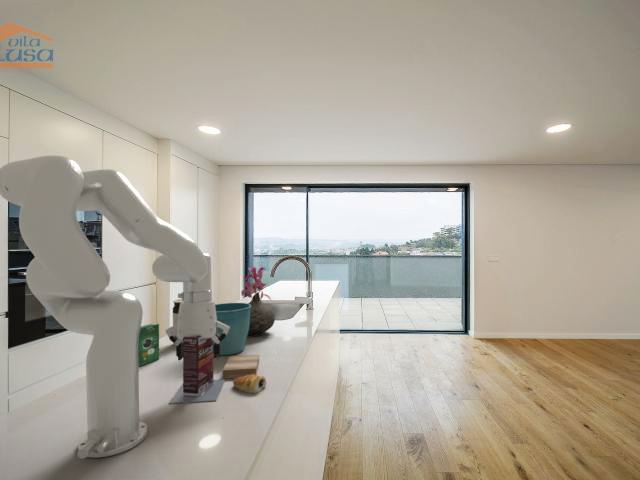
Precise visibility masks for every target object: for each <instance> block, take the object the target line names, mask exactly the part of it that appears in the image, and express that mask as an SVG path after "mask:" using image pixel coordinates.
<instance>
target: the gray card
mask: <svg viewBox="0 0 640 480" xmlns="http://www.w3.org/2000/svg"><path fill="white" fill-rule="evenodd" d="M225 382H226V378H222V379H221V378H220V379H213V385H212V386H211V387H209V388H208V389H207V390H205V391H204V392H203V393H202V394H200V395H199V396H198V397H194V396H184V395H183V383H182V384H181V386H180V387H179V388H178V390H177V391H176V392H175V394H174V395H173V396H172V398H171V399H170V401H169V402H168V404H169V405H174V404H191V403H192V404H193V403H207V402H208V403H209V402H217V401H218V398H219V397H220V396H219V395H220V393H221V391H222V389H223V387H224V384H225Z"/></svg>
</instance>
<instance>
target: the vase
mask: <svg viewBox="0 0 640 480" xmlns="http://www.w3.org/2000/svg"><path fill="white" fill-rule="evenodd" d="M263 270H264V271H265V270H266V268H265V266H261V267H260V268H259V269H258V271H257V268H256V267H255V266H253V267H252V268H250V267H248V271H250V272H251V273H248V274H247V275H246V277H245V280H244V286H245V287H246V288H247V289H243V290H241V291H240V292H241V296H242V297H243V296H244V295H246V294H247V297H248V298H251V300H250V302H248V303H247V304H250V305H251V308H250V324H249V330H248V334H247V335H248V336H251V335H258V336H262V335H264V334H265V333H266V332H267V331H269V330H270V329H272V327H273V326H274V324H275V320H276V318H275V317H276V314H275V311H274V309H273V308H272V307H271V306H270V305H269V304H267V303H265V302H263V301H262V299H263V297H264V296H265V297H267V298H268V299H269V300H270V301H272V302H273V300H272V298H271V297H270V295H267V294H264V292H263V290H264V287H265V286H267V285H268V284H267V283H263V282H262V279H263V273H264V272H263ZM249 278H250V279H251V278H252V279H253V280H254V282H252V283H251V282H250V281H249V280H248V279H249ZM257 290H258V292H257ZM260 293H261V294H260ZM252 294H253V296H252ZM263 333H264V334H263ZM261 334H262V335H261Z"/></svg>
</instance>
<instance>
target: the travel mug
mask: <svg viewBox="0 0 640 480" xmlns="http://www.w3.org/2000/svg"><path fill="white" fill-rule="evenodd" d="M172 302H173V305H174V306H173V307H172V326H174V325H175V324H177V323H178V314H179V307H180V303H182V302H183V299H181V298H178V299H173V301H172ZM173 333H174V335H175V336H176V337H178V335H177V329H176V330H174V331H173ZM182 343H183V341H182ZM172 344H173V345H174V343H173V342H172Z"/></svg>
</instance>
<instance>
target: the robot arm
mask: <svg viewBox="0 0 640 480" xmlns="http://www.w3.org/2000/svg"><path fill="white" fill-rule="evenodd" d="M0 196H1V197H2V198H3V199H5V200H6V201H7V202H8V203H11V204H13V205H16V206H19V207H20V208H19V209H20V210H19V216H18V226H19V231H20V235H21V238H22V239H23V242H24V243H25V245H26V247H27V248H28V249H29V251H30V252H31V254H33V256H34V257H33V259H32V260H31V261H30V262H29V263H28V265H27V267H26V272H25V279H26V283H27V286H28V288H29V290H30V291H31V293H32V294H33V295H34V297H35V298H36V299H37V300H38V301H39V302H40V303H41V305H42V306H43V307H44V308H45V309H46V310H47V312H48V313H49V314H51V316H52V317H53V318H54V319H55V320H56V321H57V323H59V325H61V326H62V327H63V328H65V329H66V330H67V331H69V332H72V333H75V334H81V335H88V336H92V339H91V344H90V346H89V349H88V351H87V355H86V359H85V373H86V374H85V375H86V427H87V428H86V430H87V432H86V434H85V435H84V436H83V437H82V438H81V439H80V441H79V442H78V446H77V448H78V451H77V457H78V458H79V459H82V460H83V459H86V458H91V459H93V458H95V459H97V458H106V457H111V456H115V455H118V454H121V453H123V452H124V453H125V452H127V451H128V450H130V449H133V448H134V447H136V446H137V445H139V444H140V443H142V441H143V440H144V439H145V438H146V437H147V435H148V425H147V423H145V422H143V421H141V420H140V389H139V388H140V382H139V381H140V379H139V378H140V377H139V376H140V375H139V366H138V341H139V333H140V327H141V326H142V321H143V317H144V316H143V314H144V313H143V312H144V311H143V306H142V304H141V301H140V300H139V298H137V296H135V295H133V294H131V293H129V292H126V291H122V290H121V291H120V290H108V289H107V288H108V287H109V285H110V282H111V274H110V270H109V268H108V266H107V264H106V263H105V261H104V260H103V258H102V257H101V256H100V254H99V253H98V251H97V249H96V248H95V247H94V246H93V245H92V242H91V241H90V240H89V238H87V236H86V234H85V233H84V231H83V229H82V227H81V226H80V224H79V220H78V217H77V212H87V211H88V212H89V211H90V212H91V211H97V212H99V213H100V214H101V215H103V217H104V218H106V220H107V221H108V222H109V223H110V224H111V225H112V226H113V228H114V229H116V230H117V232H118V233H120V235H121V236H122V237H123V238H124V239H125V240H126V241H128V242H130V243H131V244H133V245H135V246H138V247H141V248H144V249H147V250H150V251H154V252H157V253H160V254H161V255H159V256H158V257H156V259H154V261H153V263H152V265H151V266H152V267H151V268H152V270H151V271H152V273H153V275H154V276H155V278H156V279H158V280H159V281H161V282H166V283H182V292H181V293H179V292H178V294H177V298H178V299H183V302H182V303H180V307H179V314H178V323H177V324H175V325H174V326H173V325H171V326H170V327H168V328H166V329H165V333H166V335H167V337H168V339H169V340H170V341H171V342H172V344H173V343H174V344H173V345H174V346H175V356H176V357H177V360H178V361H181V360H183V343H182V341H183V337H187V336H201V337H202V339H209V338H211V339H212V340H213V341H214V342H215V344H214V353H213V359H215V360H217V359H218V357H219V356H220V355H219V354H220V342H221V341H222V340H223V339H224V338H225V337H226V335H227V333H228V331H229V329H230V326H228V325H226V324H223V323H221V322H219V321H217V315H216V308H215V301H214V300H212V299H213V297H212V258H211V255H210V254H209V253H208V252H203V251H202V249H200V247H199V246H198V245H197V243H195V241H194V240H193V239H192V238H191V237H190V236H188V235H187V234H186V233H184V232H182V231H181V230H179V229H177V228H176V227H174V226H173V225H171V224H170V223H168V222H166V221H164V220H162V219H161V218H159V216H157V215H156V213H155V211H153V210H152V208H151V207H150V206H149V204H148V203H147V202H146V200H144V198H143V197H142V196H141V194H140V193H139V191H138V190H137V189H136V188H135V187H134V186H133V184H132V183H131V182H130V181H129V179H128V178H127V177H126V176H125V175H124V174H122V173H121V172H119V171H117V170H115V169H107V168H105V169H95V170H89V171H83V170H82V168H81V166H79V164H78V163H77V162H75V161H74V160H72V159H71V158H69V157H67V156H63V155H44V156H43V155H42V156H37V157H33V158H27V159H21V160H16V161H15V160H14V161H11V162H8V163H6V164H5V165H2V166H1V167H0ZM218 327H219V328H221V329H223V333H222V334H221V336H219V335H218V334H217V328H218ZM176 329H177V335H178V337H176V336H175V335H174V333H173V331H174V330H176Z"/></svg>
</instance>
